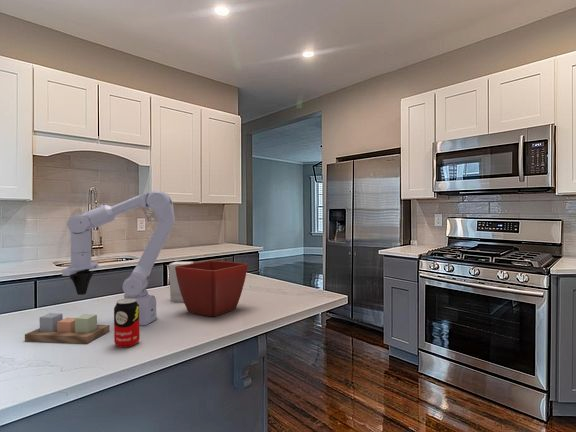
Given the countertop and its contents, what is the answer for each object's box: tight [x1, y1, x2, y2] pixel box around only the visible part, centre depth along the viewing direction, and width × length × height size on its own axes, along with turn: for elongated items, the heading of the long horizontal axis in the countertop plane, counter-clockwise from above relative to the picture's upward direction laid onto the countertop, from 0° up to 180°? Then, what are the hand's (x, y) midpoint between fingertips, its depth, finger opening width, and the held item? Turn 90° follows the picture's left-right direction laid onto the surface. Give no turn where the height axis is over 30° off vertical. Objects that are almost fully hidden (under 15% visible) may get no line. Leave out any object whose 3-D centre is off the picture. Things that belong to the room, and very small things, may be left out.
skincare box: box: [168, 261, 194, 303], centre depth 145 cm, size 8×7×16 cm
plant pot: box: [175, 260, 248, 317], centre depth 130 cm, size 19×19×17 cm
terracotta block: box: [57, 317, 76, 333], centre depth 104 cm, size 4×4×4 cm
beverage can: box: [113, 298, 141, 348], centre depth 98 cm, size 6×6×12 cm
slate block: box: [39, 312, 64, 332], centre depth 105 cm, size 4×4×4 cm
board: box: [24, 324, 111, 345], centre depth 104 cm, size 19×10×2 cm, turn 84°
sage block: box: [74, 313, 98, 333], centre depth 104 cm, size 4×4×4 cm
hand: (81, 294), depth 114 cm, fingers closed
